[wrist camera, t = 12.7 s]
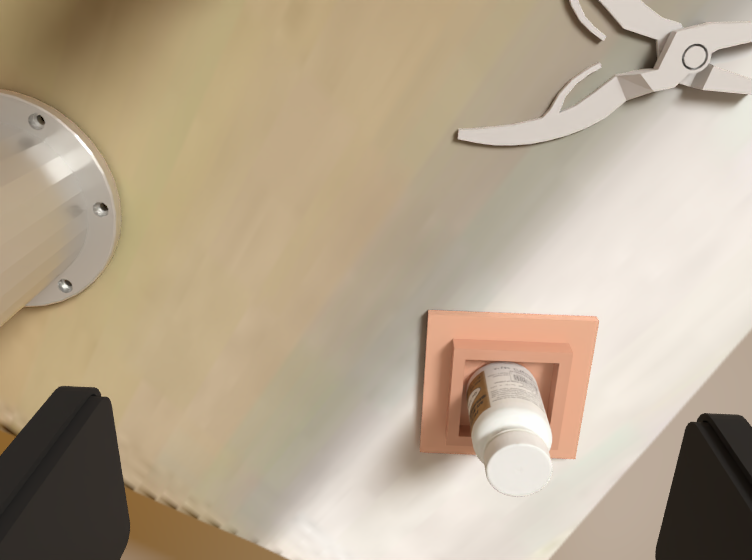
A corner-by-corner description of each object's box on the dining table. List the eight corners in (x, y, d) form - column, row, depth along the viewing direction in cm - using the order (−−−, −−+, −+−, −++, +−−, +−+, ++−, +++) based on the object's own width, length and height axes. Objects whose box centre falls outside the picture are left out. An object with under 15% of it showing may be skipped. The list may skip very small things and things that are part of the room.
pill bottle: (460, 364, 42) (470, 443, 35) (532, 353, 42) (558, 431, 35) (470, 423, 44) (482, 509, 37) (540, 414, 44) (566, 499, 37)
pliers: (475, -63, 32) (801, -52, 32) (472, -62, 34) (785, -51, 33) (458, 147, 36) (748, 159, 36) (456, 140, 38) (735, 152, 38)
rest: (419, 446, 46) (420, 464, 44) (428, 309, 42) (429, 324, 40) (573, 453, 45) (579, 471, 44) (596, 316, 41) (604, 330, 40)
